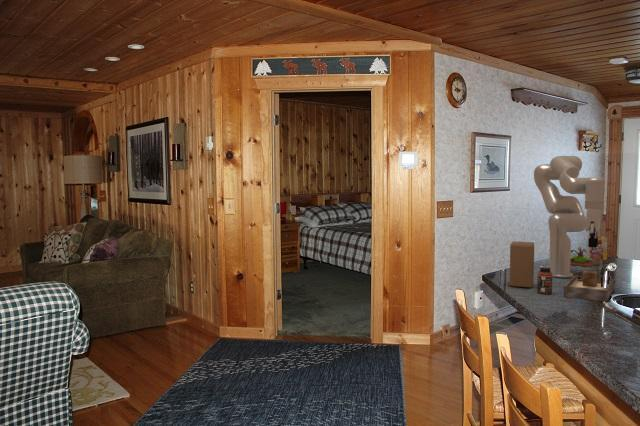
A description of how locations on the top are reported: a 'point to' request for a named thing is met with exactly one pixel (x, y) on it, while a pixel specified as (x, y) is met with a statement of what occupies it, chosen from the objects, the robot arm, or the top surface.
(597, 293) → the box
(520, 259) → the wooden block
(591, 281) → the walnut block
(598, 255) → the candy box
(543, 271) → the supplement bottle
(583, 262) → the plant
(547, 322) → the top surface
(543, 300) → the top surface
